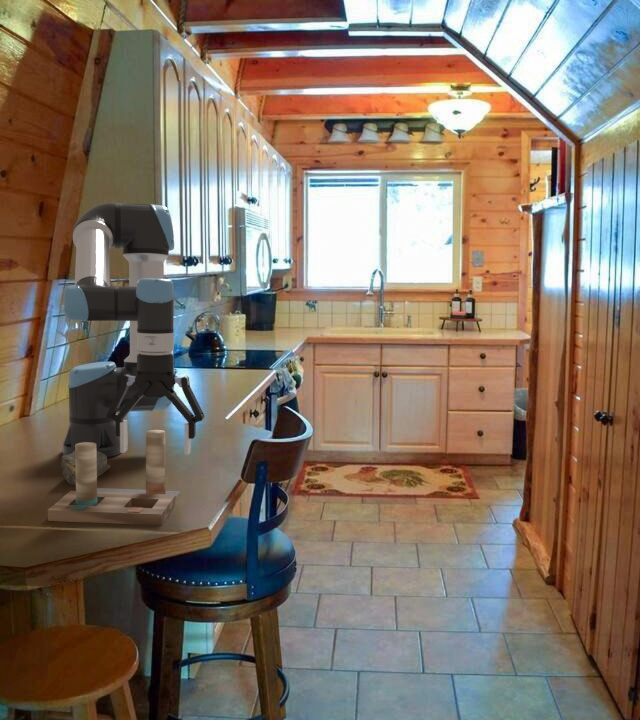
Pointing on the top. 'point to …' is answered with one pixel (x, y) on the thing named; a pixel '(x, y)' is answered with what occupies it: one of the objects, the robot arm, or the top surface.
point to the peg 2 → (155, 462)
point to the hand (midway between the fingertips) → (155, 452)
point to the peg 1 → (86, 473)
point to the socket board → (115, 508)
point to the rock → (70, 466)
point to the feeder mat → (133, 491)
